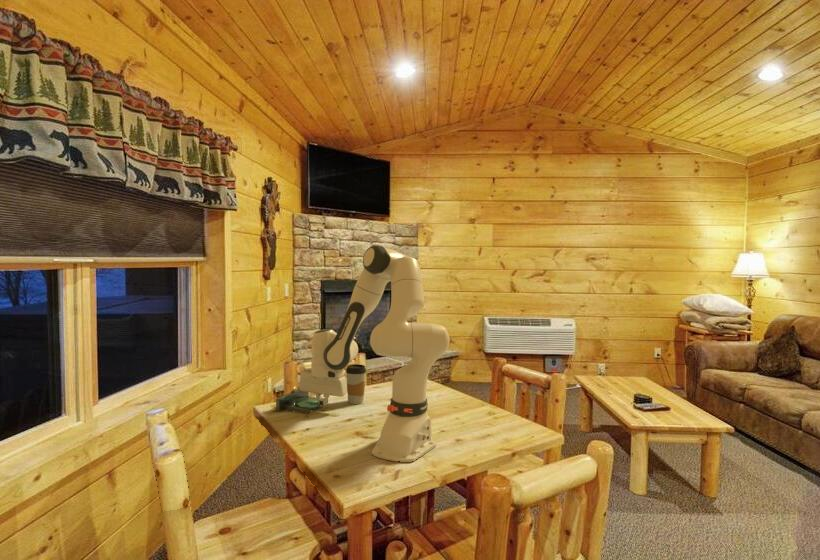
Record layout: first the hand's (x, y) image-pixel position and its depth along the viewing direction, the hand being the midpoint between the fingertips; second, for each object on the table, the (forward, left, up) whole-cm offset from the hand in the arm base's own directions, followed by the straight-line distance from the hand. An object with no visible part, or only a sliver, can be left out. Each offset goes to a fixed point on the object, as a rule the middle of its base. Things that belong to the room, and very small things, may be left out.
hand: (322, 404), depth 179 cm
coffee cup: (+13, -8, -2) cm, 15 cm away
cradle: (0, +8, -2) cm, 8 cm away
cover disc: (0, +7, -2) cm, 7 cm away
